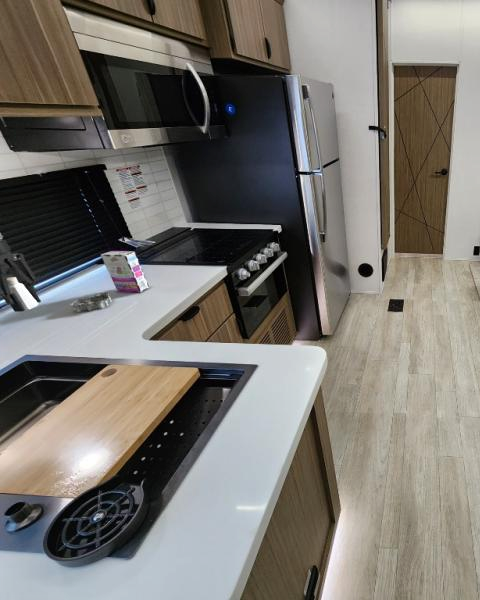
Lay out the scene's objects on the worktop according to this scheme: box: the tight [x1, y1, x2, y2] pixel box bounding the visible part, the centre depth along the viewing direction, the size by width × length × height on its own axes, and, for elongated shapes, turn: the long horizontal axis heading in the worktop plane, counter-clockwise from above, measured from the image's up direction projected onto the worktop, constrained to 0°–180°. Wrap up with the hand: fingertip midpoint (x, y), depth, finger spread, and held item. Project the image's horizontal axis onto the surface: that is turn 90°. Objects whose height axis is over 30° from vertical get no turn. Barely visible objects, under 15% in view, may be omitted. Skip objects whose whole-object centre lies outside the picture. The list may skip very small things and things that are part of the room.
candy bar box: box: [100, 250, 150, 293], centre depth 135 cm, size 11×5×16 cm, turn 83°
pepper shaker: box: [6, 276, 39, 311], centre depth 112 cm, size 5×5×11 cm
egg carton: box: [69, 291, 113, 313], centre depth 126 cm, size 11×8×4 cm
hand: (28, 306), depth 114 cm, fingers closed on pepper shaker, 5 cm apart
